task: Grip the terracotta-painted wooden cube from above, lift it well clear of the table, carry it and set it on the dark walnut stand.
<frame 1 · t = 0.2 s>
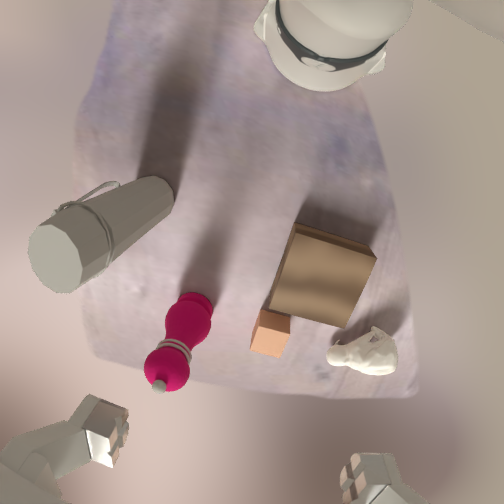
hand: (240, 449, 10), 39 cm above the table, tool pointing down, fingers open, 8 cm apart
pepper mill: (195, 307, 54), on the table
water bottle: (149, 193, 47), on the table
walnut stand: (318, 269, 49), on the table
penguin figurine: (357, 341, 53), on the table
terracotta cube: (270, 324, 53), on the table
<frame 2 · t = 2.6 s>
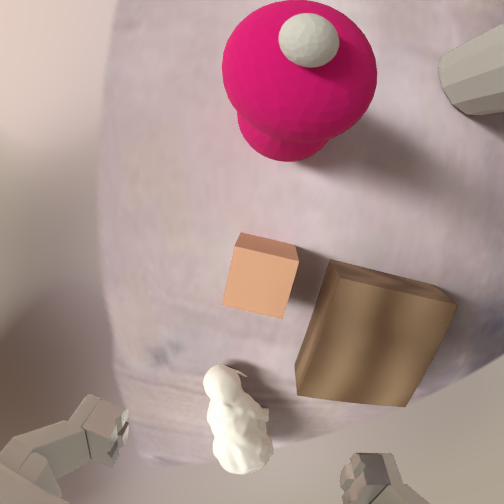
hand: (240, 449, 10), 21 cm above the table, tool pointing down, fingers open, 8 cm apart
pepper mill: (284, 121, 26), on the table
water bottle: (466, 78, 23), on the table
walnut stand: (366, 327, 31), on the table
penguin figurine: (236, 393, 34), on the table
terracotta cube: (261, 264, 30), on the table
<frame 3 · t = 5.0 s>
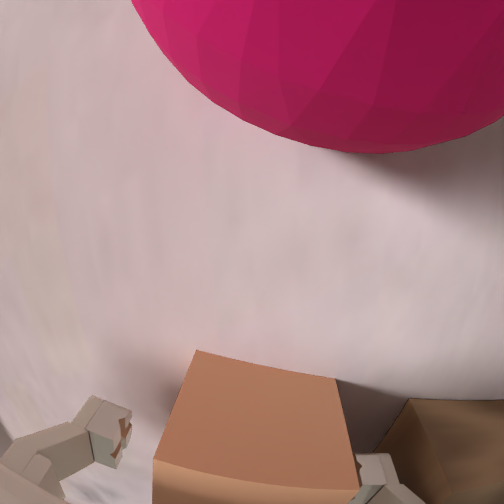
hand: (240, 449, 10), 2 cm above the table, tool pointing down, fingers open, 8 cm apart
pepper mill: (316, 43, 8), on the table
walnut stand: (440, 476, 12), on the table
terracotta cube: (251, 413, 11), on the table
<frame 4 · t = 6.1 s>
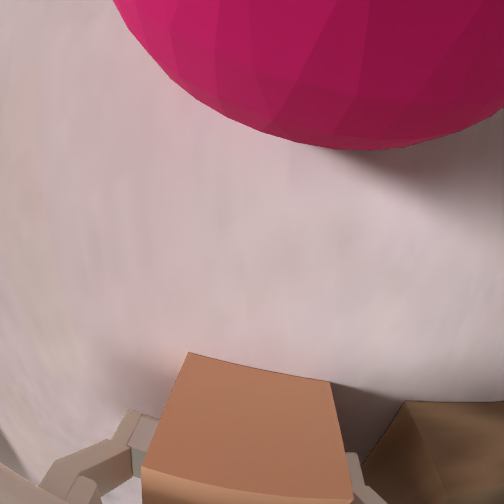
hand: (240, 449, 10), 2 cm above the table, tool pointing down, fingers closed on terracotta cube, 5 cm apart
pepper mill: (308, 39, 8), on the table
walnut stand: (437, 478, 12), on the table
terracotta cube: (244, 418, 11), on the table, touching gripper
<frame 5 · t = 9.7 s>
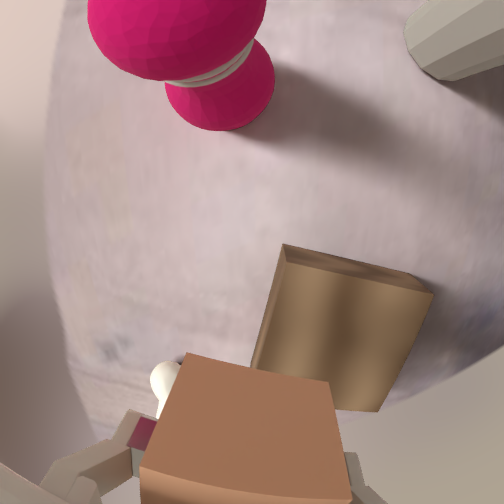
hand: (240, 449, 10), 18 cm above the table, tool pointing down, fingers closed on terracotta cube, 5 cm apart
pepper mill: (227, 93, 23), on the table
water bottle: (437, 42, 21), on the table
walnut stand: (330, 321, 28), on the table
penguin figurine: (191, 393, 31), on the table
terracotta cube: (243, 418, 11), point 17 cm above the table, touching gripper
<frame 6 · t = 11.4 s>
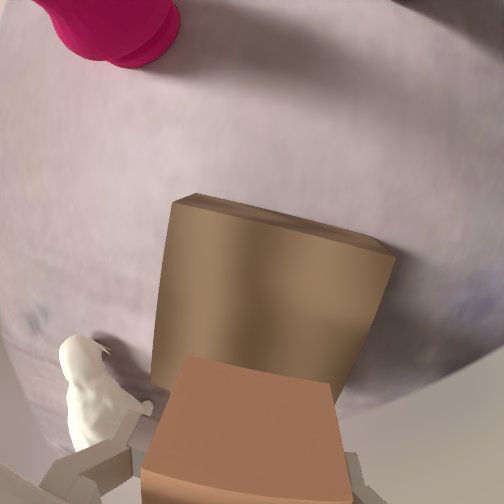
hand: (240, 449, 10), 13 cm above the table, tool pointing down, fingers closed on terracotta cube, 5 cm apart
pepper mill: (140, 31, 18), on the table
walnut stand: (263, 297, 22), on the table
penguin figurine: (114, 378, 26), on the table
terracotta cube: (244, 419, 11), point 12 cm above the table, touching gripper
when the fingers open (8 cm above the table, at t = 13.1 s): terracotta cube drops 1 cm, resting on walnut stand.
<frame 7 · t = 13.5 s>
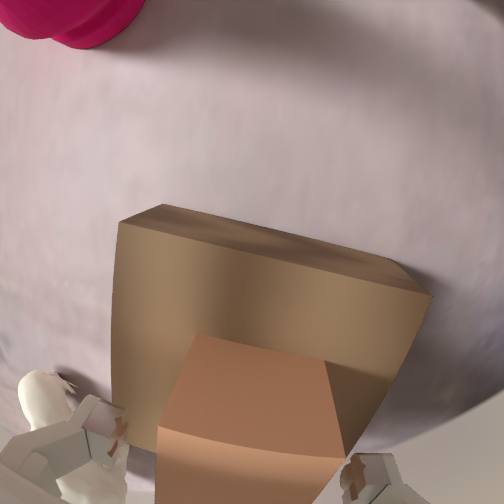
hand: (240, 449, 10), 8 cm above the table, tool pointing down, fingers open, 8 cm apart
pepper mill: (101, 5, 13), on the table
walnut stand: (252, 336, 17), on the table
penguin figurine: (85, 414, 21), on the table
terracotta cube: (247, 395, 12), point 5 cm above the table, touching walnut stand
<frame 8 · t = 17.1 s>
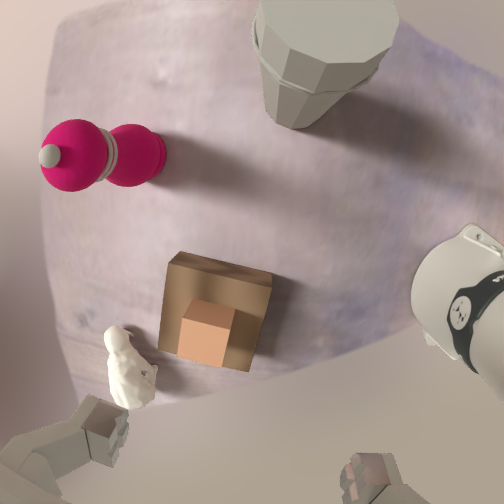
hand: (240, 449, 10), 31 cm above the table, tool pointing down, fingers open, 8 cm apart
pepper mill: (144, 155, 38), on the table
water bottle: (298, 95, 35), on the table
walnut stand: (216, 304, 42), on the table
penguin figurine: (134, 351, 46), on the table
terracotta cube: (210, 322, 37), point 5 cm above the table, touching walnut stand
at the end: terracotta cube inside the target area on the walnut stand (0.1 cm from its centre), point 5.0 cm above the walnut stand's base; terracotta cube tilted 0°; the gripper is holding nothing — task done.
